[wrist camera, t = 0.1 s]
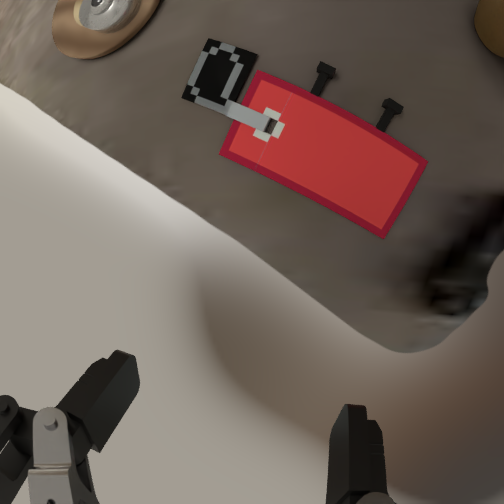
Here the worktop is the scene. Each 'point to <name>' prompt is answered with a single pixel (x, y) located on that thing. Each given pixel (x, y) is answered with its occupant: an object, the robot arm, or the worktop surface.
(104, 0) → the cover
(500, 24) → the plant pot
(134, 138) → the worktop surface
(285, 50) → the worktop surface
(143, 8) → the turntable
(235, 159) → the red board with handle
